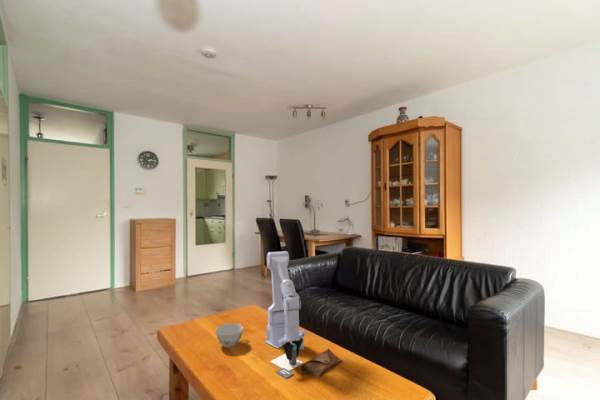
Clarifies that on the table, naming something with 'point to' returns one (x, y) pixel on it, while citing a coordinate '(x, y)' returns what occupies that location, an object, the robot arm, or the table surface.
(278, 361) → the paper
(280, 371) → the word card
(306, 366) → the sunglasses case
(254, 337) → the table surface
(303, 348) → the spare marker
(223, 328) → the teacup
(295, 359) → the marker
